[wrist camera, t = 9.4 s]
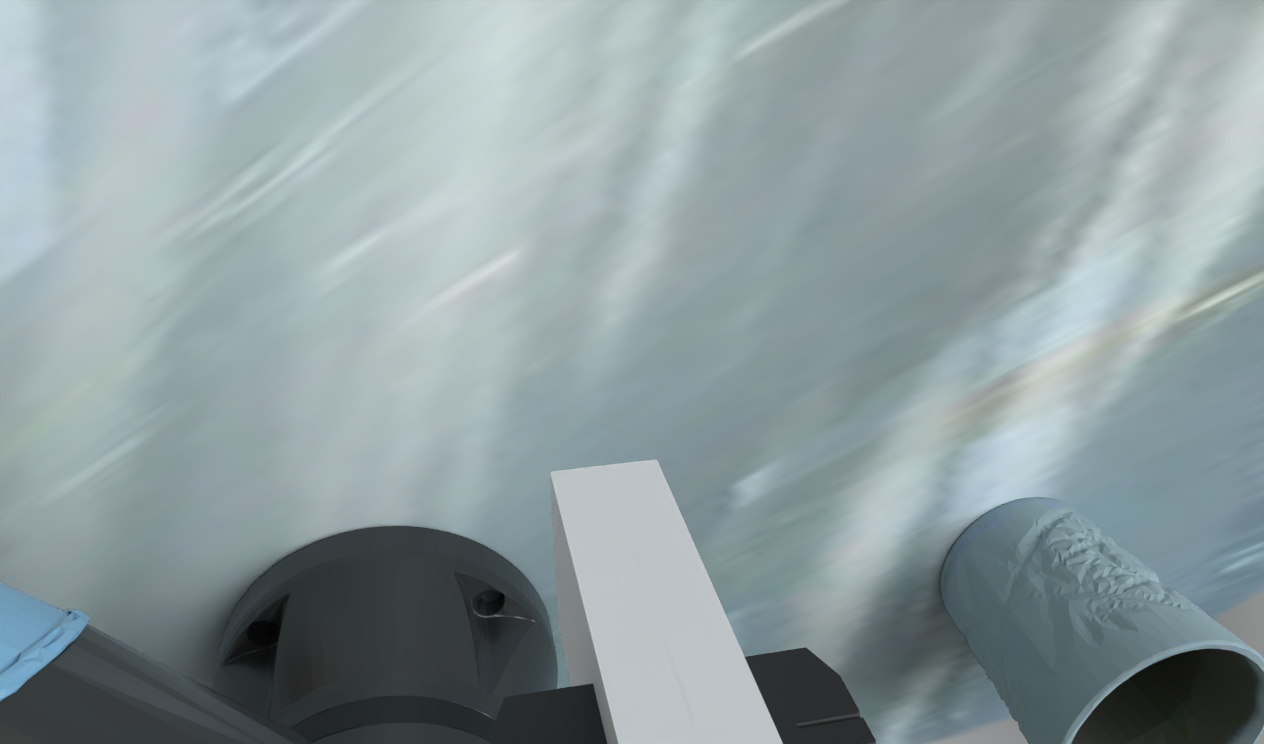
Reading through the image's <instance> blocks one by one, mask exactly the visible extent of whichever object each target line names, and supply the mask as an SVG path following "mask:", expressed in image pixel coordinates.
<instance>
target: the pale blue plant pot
mask: <svg viewBox="0 0 1264 744" xmlns="http://www.w3.org/2000/svg"><path fill="white" fill-rule="evenodd" d="M940 585H941V593H942V597H943V602H944V605H945V607H946V610H947V612H948V613H949V615H950V617H951V618H952V620H953V622H954V623H955V625H956V626H957V628H958V629H959V630H960V631H961V632H962V633H963V634H964V635H966V639H967V643H968V645H969V647H970V649H971V650H972V652H973V653H974V656H975V657H976V658H977V659H978V662H979V664H980V665H981V666H982V667H983V668H984V669H985V671H986V675H987V676H988V678H989V679H990V680H992V681H993V682H994V684H995V687H996V688H997V692H998V694H999V696H1000V698H1001V699H1002V700H1004V702H1005V704H1006V706H1007V707H1008V709H1009V712H1010V714H1011V716H1012V718H1013V719H1014V720H1015V721H1017V722H1018V724H1019V729H1020V730H1021V732H1022V733H1023V735H1024V736H1025V738H1026V739H1027V742H1028V743H1029V744H1255V743H1256V741H1257V740H1258V738H1259V737H1260V735H1261V733H1262V732H1263V730H1264V659H1263V657H1262V656H1261V655H1259V654H1258V653H1257V652H1256V651H1255V650H1253V649H1252V648H1251V647H1249V646H1248V645H1247V644H1245V643H1244V642H1243V641H1241V640H1240V639H1239V638H1238V637H1236V636H1235V635H1234V634H1232V633H1231V632H1230V631H1228V630H1227V629H1226V628H1224V627H1223V626H1222V625H1220V624H1219V623H1217V622H1216V621H1215V620H1213V619H1212V618H1210V617H1209V616H1208V615H1207V614H1206V613H1205V612H1204V611H1202V610H1201V609H1200V608H1198V607H1197V606H1196V605H1194V604H1193V603H1192V602H1191V601H1189V600H1188V599H1186V598H1185V597H1183V596H1182V595H1181V594H1179V593H1177V592H1176V591H1174V590H1172V589H1170V588H1168V587H1166V586H1164V585H1163V584H1161V583H1160V582H1159V579H1158V576H1157V575H1156V573H1154V572H1153V571H1152V570H1151V569H1149V568H1148V567H1147V566H1145V565H1144V564H1142V562H1141V561H1140V560H1139V559H1137V558H1136V557H1134V556H1133V555H1132V554H1130V553H1129V552H1127V551H1126V550H1125V549H1123V548H1122V547H1120V546H1117V545H1116V544H1115V542H1114V541H1113V540H1112V539H1111V538H1110V537H1109V536H1107V535H1106V534H1104V533H1103V532H1102V531H1101V530H1100V529H1099V528H1098V527H1097V526H1096V525H1095V524H1093V523H1092V522H1091V521H1090V520H1089V519H1087V518H1086V517H1085V516H1084V515H1083V514H1081V513H1080V512H1079V511H1078V510H1076V509H1075V508H1073V507H1071V506H1070V505H1068V504H1066V503H1063V502H1061V501H1058V500H1056V499H1050V498H1041V497H1034V498H1024V499H1018V500H1015V501H1011V502H1008V503H1006V504H1003V505H1001V506H999V507H997V508H995V509H993V510H991V511H989V512H988V513H986V514H984V515H983V516H981V517H980V518H979V519H978V520H976V521H975V522H974V523H973V524H972V525H970V526H969V527H968V528H967V529H966V530H965V531H964V532H963V533H962V534H961V536H960V537H959V538H958V540H957V541H956V543H955V544H954V545H953V547H952V549H951V550H950V552H949V554H948V556H947V558H946V560H945V563H944V566H943V570H942V574H941V582H940Z"/></svg>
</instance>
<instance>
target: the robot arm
mask: <svg viewBox="0 0 1264 744" xmlns="http://www.w3.org/2000/svg"><path fill="white" fill-rule="evenodd" d="M550 480H551V497H552V515H553V533H554V551H555V569H556V587H557V605H558V623H559V632H560V637H561V641H562V646H563V651H564V656H565V660H566V665H567V670H568V675H569V679H570V684H571V687H566V688H560V689H557V675H558V666H557V656H556V650H555V645H554V640H553V635H552V630H551V625H550V620H549V617H548V614H547V611H546V608H545V606H544V604H543V602H542V600H541V598H540V596H539V594H538V593H537V591H536V590H535V588H534V587H533V585H532V584H531V583H530V581H529V580H528V579H527V578H526V577H525V576H524V575H523V573H522V572H521V571H520V570H519V569H517V568H516V567H515V566H514V565H513V564H512V563H511V562H509V561H508V560H507V559H505V558H504V557H503V556H501V555H499V554H498V553H496V552H495V551H493V550H491V549H489V548H488V547H486V546H484V545H482V544H480V543H477V542H475V541H473V540H470V539H468V538H465V537H462V536H459V535H456V534H452V533H449V532H444V531H440V530H434V529H428V528H420V527H404V526H393V527H377V528H368V529H362V530H356V531H351V532H347V533H343V534H339V535H336V536H332V537H329V538H327V539H324V540H321V541H318V542H316V543H314V544H311V545H309V546H307V547H305V548H303V549H301V550H299V551H297V552H295V553H293V554H292V555H290V556H288V557H287V558H285V559H283V560H282V561H281V562H279V563H278V564H276V565H275V566H273V567H272V568H271V569H270V570H268V571H267V572H266V573H265V574H264V575H263V576H261V577H260V578H259V579H258V580H257V581H256V582H255V583H254V584H253V585H252V587H251V588H250V589H249V590H248V591H247V592H246V594H245V595H244V596H243V597H242V599H241V600H240V602H239V603H238V605H237V606H236V608H235V609H234V611H233V613H232V615H231V617H230V619H229V621H228V624H227V626H226V628H225V632H224V635H223V638H222V642H221V646H220V650H219V655H218V659H217V663H216V667H215V672H214V678H213V690H212V689H210V688H208V687H206V686H204V685H202V684H200V683H198V682H196V681H194V680H192V679H190V678H188V677H186V676H185V675H183V674H181V673H179V672H177V671H175V670H173V669H171V668H169V667H168V666H166V665H164V664H162V663H160V662H158V661H156V660H154V659H152V658H150V657H149V656H147V655H145V654H143V653H141V652H139V651H137V650H135V649H133V648H132V647H130V646H128V645H126V644H124V643H122V642H120V641H118V640H116V639H115V638H113V637H111V636H109V635H107V634H105V633H103V632H101V631H99V630H98V629H96V628H94V627H92V626H90V625H88V624H87V623H88V622H89V616H88V615H86V614H85V613H83V612H82V611H79V610H77V609H67V610H60V609H58V608H56V607H54V606H52V605H49V604H47V603H45V602H43V601H41V600H38V599H36V598H34V597H32V596H29V595H27V594H25V593H23V592H21V591H18V590H16V589H14V588H12V587H9V586H7V585H5V584H3V583H1V582H0V744H876V742H875V738H874V737H873V735H872V733H871V731H870V729H869V728H868V726H867V724H866V722H865V720H864V719H863V718H861V717H860V714H859V710H858V708H857V706H856V704H855V702H854V701H853V699H852V697H851V695H850V693H849V691H848V690H847V688H846V686H845V684H844V682H843V681H842V679H841V677H840V675H838V674H837V673H836V672H835V671H834V670H832V669H831V668H830V667H829V666H828V665H826V664H825V663H824V662H823V661H822V660H820V659H819V658H818V657H817V656H815V655H814V654H813V653H812V652H811V651H809V650H808V649H807V648H800V649H794V650H787V651H781V652H774V653H768V654H761V655H755V656H748V657H744V655H743V653H742V650H741V648H740V646H739V644H738V641H737V639H736V637H735V635H734V632H733V630H732V628H731V626H730V623H729V621H728V619H727V617H726V614H725V612H724V610H723V607H722V605H721V603H720V601H719V598H718V596H717V594H716V592H715V589H714V587H713V585H712V583H711V580H710V578H709V576H708V574H707V571H706V569H705V567H704V565H703V562H702V560H701V558H700V556H699V553H698V551H697V549H696V547H695V544H694V542H693V540H692V538H691V535H690V533H689V531H688V529H687V526H686V524H685V522H684V520H683V517H682V515H681V513H680V511H679V508H678V506H677V504H676V502H675V499H674V497H673V495H672V493H671V490H670V488H669V486H668V484H667V481H666V479H665V477H664V475H663V472H662V470H661V468H660V466H659V463H658V461H657V459H655V460H646V461H638V462H629V463H621V464H612V465H603V466H595V467H586V468H578V469H569V470H561V471H552V472H550Z"/></svg>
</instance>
